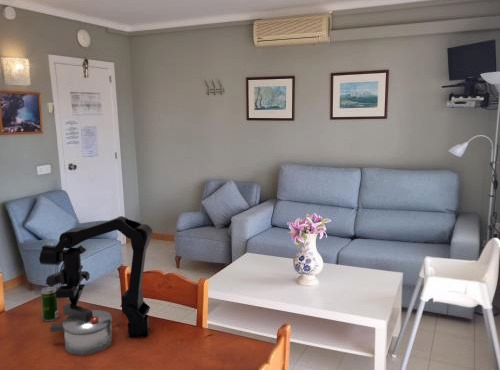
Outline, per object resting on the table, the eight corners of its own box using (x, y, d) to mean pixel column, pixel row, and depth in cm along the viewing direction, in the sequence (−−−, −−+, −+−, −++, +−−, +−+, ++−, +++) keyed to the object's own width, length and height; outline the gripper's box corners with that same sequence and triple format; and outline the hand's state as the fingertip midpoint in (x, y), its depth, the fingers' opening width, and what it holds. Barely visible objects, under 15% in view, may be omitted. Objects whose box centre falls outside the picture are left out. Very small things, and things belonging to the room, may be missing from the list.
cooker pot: (116, 332, 158) (115, 313, 157) (105, 354, 143) (104, 334, 142) (60, 333, 157) (59, 315, 156) (44, 356, 142) (42, 335, 141)
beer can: (60, 315, 172) (58, 286, 170) (55, 321, 166) (53, 291, 164) (46, 315, 171) (44, 286, 169) (40, 322, 166) (38, 291, 164)
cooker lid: (121, 319, 152) (121, 308, 151) (83, 338, 139) (83, 326, 138) (85, 307, 161) (84, 296, 161) (46, 324, 148) (46, 312, 148)
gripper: (58, 256, 163) (60, 296, 166) (37, 274, 145) (40, 319, 147) (89, 256, 164) (91, 296, 166) (72, 274, 146) (74, 318, 148)
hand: (74, 306), depth 157 cm, fingers closed
